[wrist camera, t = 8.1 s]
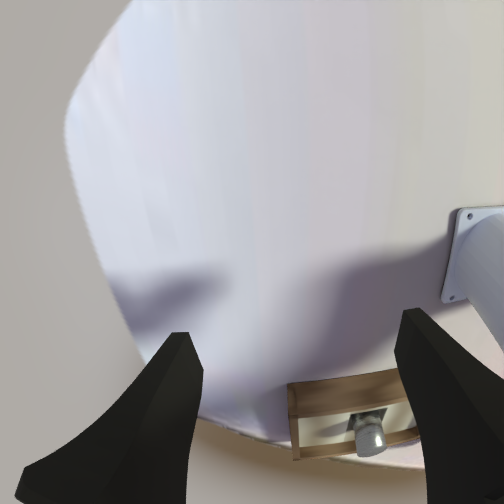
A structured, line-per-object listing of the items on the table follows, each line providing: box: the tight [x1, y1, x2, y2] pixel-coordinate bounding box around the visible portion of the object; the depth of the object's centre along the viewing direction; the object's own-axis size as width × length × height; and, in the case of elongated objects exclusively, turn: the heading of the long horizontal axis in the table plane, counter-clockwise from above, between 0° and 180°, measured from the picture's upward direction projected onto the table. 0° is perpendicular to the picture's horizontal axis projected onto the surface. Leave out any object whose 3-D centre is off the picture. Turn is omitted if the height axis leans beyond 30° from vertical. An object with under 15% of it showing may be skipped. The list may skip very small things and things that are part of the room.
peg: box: [351, 409, 387, 457], centre depth 26 cm, size 3×3×6 cm
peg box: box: [287, 368, 420, 461], centre depth 27 cm, size 16×12×4 cm
